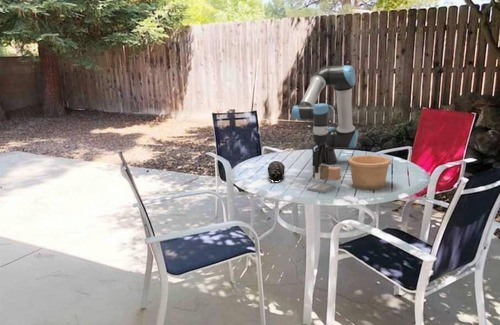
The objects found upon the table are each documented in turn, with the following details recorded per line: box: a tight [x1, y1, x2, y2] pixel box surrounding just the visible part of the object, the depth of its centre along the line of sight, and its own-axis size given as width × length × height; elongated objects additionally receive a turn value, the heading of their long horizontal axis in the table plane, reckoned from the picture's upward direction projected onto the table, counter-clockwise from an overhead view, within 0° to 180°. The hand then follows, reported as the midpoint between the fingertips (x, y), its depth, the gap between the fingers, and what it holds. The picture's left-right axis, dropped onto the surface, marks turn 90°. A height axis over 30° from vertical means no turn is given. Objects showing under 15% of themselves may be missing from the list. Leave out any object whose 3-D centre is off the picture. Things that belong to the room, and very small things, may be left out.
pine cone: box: [267, 160, 286, 181], centre depth 239 cm, size 10×18×10 cm, turn 1°
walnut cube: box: [312, 165, 330, 181], centre depth 215 cm, size 6×6×6 cm
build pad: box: [306, 182, 336, 194], centre depth 217 cm, size 11×11×1 cm
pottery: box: [347, 154, 392, 191], centre depth 218 cm, size 22×22×14 cm
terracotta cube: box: [325, 165, 342, 181], centre depth 236 cm, size 6×6×6 cm
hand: (320, 177), depth 216 cm, fingers closed on walnut cube, 6 cm apart
